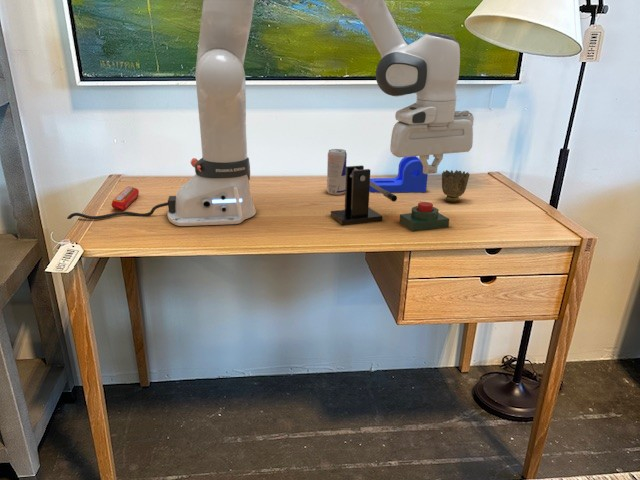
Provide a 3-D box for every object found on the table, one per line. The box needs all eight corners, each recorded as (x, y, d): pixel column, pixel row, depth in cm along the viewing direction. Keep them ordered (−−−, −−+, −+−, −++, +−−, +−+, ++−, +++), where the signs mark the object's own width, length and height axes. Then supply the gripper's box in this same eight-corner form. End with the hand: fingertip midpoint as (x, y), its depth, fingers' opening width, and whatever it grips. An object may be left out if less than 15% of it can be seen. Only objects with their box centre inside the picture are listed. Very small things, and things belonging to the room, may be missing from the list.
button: (422, 213, 142) (422, 206, 141) (415, 209, 145) (415, 202, 144) (435, 212, 143) (435, 205, 142) (427, 208, 146) (428, 201, 145)
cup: (443, 196, 169) (446, 168, 165) (468, 199, 166) (472, 171, 162) (435, 202, 163) (438, 173, 159) (461, 206, 160) (465, 177, 156)
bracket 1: (369, 212, 154) (371, 163, 148) (382, 221, 148) (385, 170, 142) (330, 215, 151) (331, 166, 145) (341, 225, 144) (343, 173, 138)
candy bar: (124, 212, 151) (122, 201, 150) (110, 212, 151) (108, 200, 150) (141, 195, 166) (139, 184, 164) (128, 195, 166) (126, 184, 164)
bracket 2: (419, 184, 180) (422, 154, 175) (426, 192, 172) (429, 161, 168) (361, 185, 178) (362, 155, 174) (365, 192, 171) (367, 161, 167)
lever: (385, 198, 153) (390, 190, 152) (394, 204, 148) (399, 195, 148) (347, 174, 146) (352, 166, 145) (354, 179, 142) (360, 170, 141)
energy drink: (348, 191, 172) (349, 150, 166) (341, 196, 167) (342, 153, 162) (331, 189, 174) (332, 148, 168) (324, 193, 169) (324, 151, 164)
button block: (412, 231, 141) (413, 215, 139) (399, 222, 147) (400, 207, 145) (448, 227, 144) (450, 211, 142) (434, 218, 150) (435, 203, 148)
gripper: (466, 108, 139) (460, 166, 145) (389, 112, 132) (385, 173, 139) (482, 112, 134) (474, 172, 140) (402, 116, 127) (397, 180, 134)
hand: (429, 173), depth 139 cm, fingers closed
